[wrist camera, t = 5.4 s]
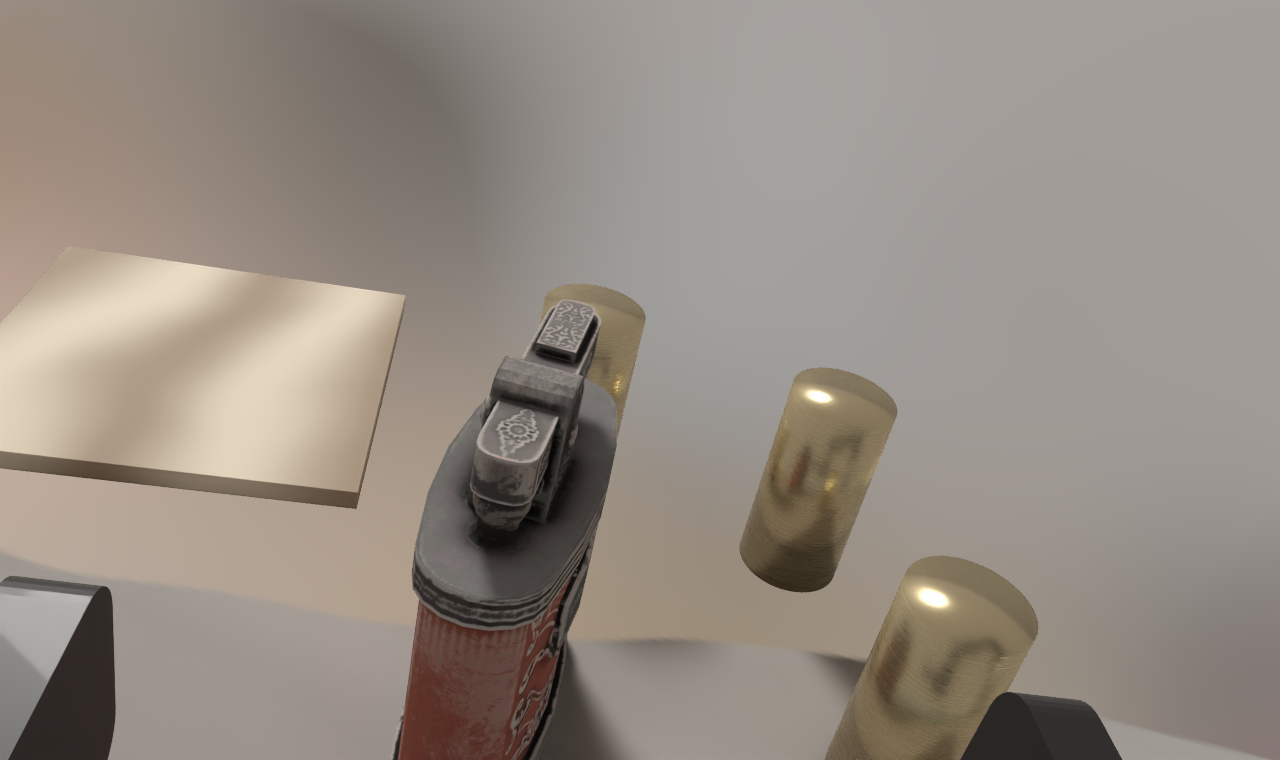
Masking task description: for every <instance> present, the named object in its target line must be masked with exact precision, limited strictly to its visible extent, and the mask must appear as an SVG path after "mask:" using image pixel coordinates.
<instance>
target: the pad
mask: <svg viewBox="0 0 1280 760" xmlns="http://www.w3.org/2000/svg"><path fill="white" fill-rule="evenodd" d="M404 306H405V295H399V294H392V293H385V292H377V291H371V290H364V289H358V288H351V287H343V286H337V285H330V284H324V283H317V282H310V281H303V280H296V279H290V278H283V277H276V276H269V275H262V274H255V273H249V272H242V271H234V270H228V269H221V268H214V267H207V266H201V265H194V264H187V263H181V262H174V261H167V260H159V259H153V258H146V257H139V256H133V255H126V254H119V253H112V252H105V251H99V250H92V249H85V248H77V247H71V246H68V247H67V248H66V249H65V250H64V252H63V253H62V254H61V255H60V256H59V257H58V258H57V260H56V261H55V262H54V263H53V264H52V265H51V266H50V268H49V269H48V270H47V271H46V272H45V273H44V274H43V276H42V277H41V278H40V279H39V281H37V283H36V284H35V285H34V286H33V287H32V288H31V290H30V291H29V292H28V293H27V294H26V295H25V296H24V297H23V299H22V300H21V301H20V302H19V303H18V304H17V306H16V307H15V308H14V309H13V310H12V311H11V312H10V314H9V315H8V316H7V317H6V318H5V320H3V322H2V323H1V324H0V468H4V469H12V470H21V471H30V472H39V473H47V474H56V475H65V476H74V477H82V478H91V479H100V480H109V481H117V482H127V483H135V484H143V485H153V486H161V487H170V488H179V489H187V490H197V491H205V492H214V493H222V494H231V495H241V496H249V497H258V498H266V499H275V500H284V501H293V502H302V503H310V504H319V505H328V506H337V507H345V508H355V509H356V508H357V504H358V499H359V495H360V491H361V487H362V482H363V479H364V474H365V470H366V466H367V462H368V458H369V454H370V449H371V445H372V441H373V437H374V433H375V429H376V424H377V420H378V416H379V412H380V408H381V404H382V399H383V395H384V391H385V387H386V382H387V379H388V374H389V370H390V366H391V362H392V358H393V353H394V349H395V345H396V341H397V337H398V333H399V329H400V324H401V320H402V316H403V312H404Z"/></svg>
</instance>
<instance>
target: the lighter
mask: <svg viewBox="0 0 1280 760" xmlns="http://www.w3.org/2000/svg"><path fill="white" fill-rule="evenodd" d="M600 326H601V318H600V317H599V315H597V314H596V313H595V309H594V307H592V306H591V305H588V304H585V303H581V302H578V301H573V300H568V299H564V300H561V301H560V302H559V303H558V304H557V305H555V306H552V307H551V308H550V309H549V310H548V312H547V314H546V315H545V317H544V319H543V321H542V322H541V324H540V326H539V328H538V330H537V332H536V333H535V335H534V337H533V339H532V340H531V342H530V344H529V346H528V348H527V349H526V351H525V353H524V355H523V356H522V358H521V359H518V358H514V357H510V356H506V357H505V358H504V359H503V361H502V363H501V365H500V367H499V368H498V371H497V373H496V376H495V378H494V382H493V385H492V389H491V393H490V395H489V396H488V397H487V398H486V399H485V400H484V402H483V403H482V404H481V405H480V406H479V407H478V408H477V409H476V410H475V412H474V413H473V414H472V416H471V417H470V418H469V420H468V421H467V422H466V424H465V425H464V426H463V428H462V429H461V430H460V432H459V433H458V434H457V436H456V437H455V438H454V440H453V441H452V442H451V444H450V445H449V447H448V449H447V451H446V454H445V456H444V458H443V460H442V462H441V464H440V467H439V469H438V471H437V473H436V476H435V478H434V480H433V482H432V484H431V487H430V489H429V491H428V495H427V499H426V503H425V507H424V511H423V515H422V519H421V523H420V528H419V532H418V536H417V540H416V544H415V545H416V546H415V552H414V560H413V568H412V584H413V590H414V591H415V593H416V594H417V596H418V597H419V605H418V613H417V620H416V627H415V635H414V642H413V650H412V657H411V665H410V672H409V680H408V687H407V694H406V702H405V705H404V707H403V710H402V713H401V715H400V718H399V721H398V724H397V729H396V734H395V738H394V743H393V747H392V752H391V757H390V760H538V759H539V757H540V754H541V752H542V749H543V747H544V745H545V742H546V740H547V737H548V735H549V732H550V728H551V724H552V719H553V715H554V711H555V707H556V702H557V698H558V693H559V689H560V684H561V679H562V675H563V670H564V666H565V661H566V649H567V633H568V631H569V628H570V626H571V624H572V621H573V619H574V617H575V615H576V613H577V610H578V608H579V605H580V600H581V596H582V592H583V588H584V583H585V579H586V575H587V571H588V566H589V562H590V558H591V553H592V549H593V544H594V540H595V535H596V530H597V526H598V522H599V519H600V517H601V514H602V509H603V505H604V501H605V497H606V493H607V488H608V484H609V479H610V474H611V470H612V465H613V460H614V456H615V451H616V446H617V406H616V404H615V401H614V398H613V397H612V396H611V395H610V394H609V393H608V392H607V391H606V390H605V389H604V388H603V387H601V386H599V385H598V384H596V383H594V382H593V381H591V380H589V379H586V376H587V374H588V372H589V369H590V367H591V365H592V363H593V359H594V354H595V349H596V344H597V340H598V335H599V330H600Z"/></svg>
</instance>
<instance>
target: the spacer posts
mask: <svg viewBox="0 0 1280 760" xmlns="http://www.w3.org/2000/svg"><path fill="white" fill-rule="evenodd" d="M564 299H568V300H573V301H578V302H581V303H585V304H588V305H591V306H592V307H594V309H595V313H596V314H597V315H599V317H600V318H601V326H600V330H599V335H598V340H597V344H596V349H595V354H594V359H593V363H592V365H591V367H590V369H589V372H588V374H587V376H586V379H589V380H591V381H593V382H594V383H596V384H598V385H599V386H601V387H603V388H604V389H605V390H606V391H607V392H608V393H609V394H610V395H611V396H612V397H613V398H614V401H615V404H616V406H617V437H618V433H619V428H620V425H621V420H622V416H623V412H624V408H625V403H626V399H627V394H628V391H629V387H630V382H631V378H632V374H633V370H634V366H635V361H636V357H637V353H638V349H639V344H640V340H641V335H642V332H643V328H644V323H645V313H644V311H643V309H642V308H641V307H640V306H639V305H638V304H637V303H636V302H635V301H634V300H632V299H631V298H629V297H627V296H626V295H624V294H622V293H620V292H617V291H614V290H612V289H608V288H605V287H601V286H596V285H588V284H569V285H563V286H560V287H557V288H554V289H553V290H551V291H550V292H549V293H548V294H547V295H546V297H545V301H544V306H543V311H542V317H541V322H542V321H543V319H544V317H545V315H546V314H547V312H548V310H549V309H550V308H551V307H552V306H555V305H557V304H558V303H559V302H560V301H561V300H564ZM540 324H541V323H540ZM896 416H897V407H896V404H895V402H894V401H893V399H892V398H891V397H890V396H889V395H888V393H887V392H885V391H884V390H883V389H882V388H880V387H879V386H878V385H876V384H874V383H873V382H871V381H869V380H867V379H865V378H863V377H861V376H858V375H856V374H853V373H850V372H847V371H842V370H838V369H832V368H812V369H807V370H805V371H802V372H800V373H799V374H798V375H797V376H796V377H795V378H794V381H793V384H792V387H791V390H790V393H789V396H788V399H787V402H786V405H785V408H784V411H783V414H782V417H781V420H780V423H779V426H778V429H777V432H776V435H775V438H774V441H773V444H772V448H771V451H770V454H769V457H768V460H767V463H766V466H765V469H764V472H763V475H762V478H761V481H760V484H759V487H758V490H757V493H756V496H755V499H754V502H753V505H752V508H751V512H750V515H749V518H748V521H747V524H746V527H745V530H744V533H743V536H742V539H741V542H740V554H741V557H742V559H743V561H744V563H745V564H746V566H747V567H748V568H749V569H750V570H751V571H752V572H753V573H754V574H755V575H756V576H757V577H759V578H760V579H762V580H763V581H765V582H767V583H769V584H770V585H773V586H775V587H778V588H781V589H784V590H788V591H793V592H812V591H816V590H819V589H822V588H824V587H825V586H827V585H828V584H829V583H830V582H831V580H832V578H833V576H834V573H835V571H836V568H837V566H838V563H839V561H840V558H841V555H842V553H843V550H844V548H845V545H846V543H847V540H848V538H849V535H850V533H851V530H852V527H853V525H854V523H855V520H856V517H857V515H858V512H859V510H860V507H861V505H862V502H863V500H864V497H865V495H866V492H867V489H868V487H869V485H870V482H871V480H872V477H873V474H874V472H875V469H876V467H877V464H878V462H879V459H880V457H881V454H882V452H883V449H884V446H885V444H886V442H887V439H888V436H889V434H890V431H891V429H892V426H893V424H894V421H895V419H896ZM1037 633H1038V621H1037V618H1036V615H1035V612H1034V610H1033V608H1032V606H1031V605H1030V603H1029V602H1028V600H1027V599H1026V598H1025V596H1024V595H1023V594H1022V593H1021V592H1020V591H1019V590H1018V589H1017V588H1015V586H1013V585H1012V584H1011V583H1010V582H1009V581H1007V580H1006V579H1004V578H1003V577H1001V576H1000V575H998V574H997V573H995V572H993V571H992V570H990V569H988V568H986V567H984V566H981V565H979V564H976V563H974V562H971V561H968V560H964V559H960V558H955V557H948V556H933V557H927V558H923V559H920V560H918V561H916V562H915V563H913V564H912V565H911V566H910V567H909V568H908V570H907V571H906V573H905V575H904V578H903V580H902V582H901V585H900V587H899V590H898V591H897V594H896V596H895V598H894V600H893V603H892V605H891V607H890V610H889V612H888V614H887V617H886V619H885V621H884V623H883V625H882V628H881V630H880V632H879V635H878V637H877V639H876V641H875V644H874V646H873V648H872V651H871V653H870V655H869V657H868V660H867V662H866V664H865V666H864V669H863V671H862V673H861V676H860V678H859V680H858V682H857V685H856V687H855V689H854V692H853V694H852V696H851V698H850V701H849V703H848V705H847V707H846V710H845V712H844V714H843V717H842V719H841V721H840V723H839V726H838V728H837V730H836V733H835V735H834V737H833V739H832V742H831V744H830V746H829V748H828V751H827V754H826V759H825V760H960V759H961V757H962V756H963V754H964V752H965V750H966V748H967V747H968V745H969V743H970V741H971V739H972V737H973V736H974V734H975V732H976V730H977V728H978V727H979V725H980V723H981V721H982V719H983V718H984V716H985V714H986V712H987V710H988V709H989V707H990V705H991V704H992V702H993V701H994V700H995V699H996V697H997V696H999V695H1000V694H1002V693H1006V692H1007V690H1008V688H1009V686H1010V685H1011V683H1012V681H1013V679H1014V677H1015V676H1016V674H1017V672H1018V670H1019V668H1020V666H1021V665H1022V663H1023V661H1024V659H1025V657H1026V655H1027V653H1028V652H1029V650H1030V648H1031V646H1032V644H1033V642H1034V641H1035V639H1036V636H1037Z"/></svg>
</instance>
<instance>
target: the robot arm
mask: <svg viewBox="0 0 1280 760" xmlns="http://www.w3.org/2000/svg"><path fill="white" fill-rule="evenodd" d="M115 707H116V706H115V672H114V638H113V605H112V596H111V592H110V590H109V589H108V588H107V587H105V586H97V585H88V584H79V583H70V582H62V581H53V580H44V579H35V578H27V577H18V576H9V577H7V578H6V579H4V580H3V581H2V582H1V583H0V760H108V756H109V752H110V747H111V743H112V737H113V732H114V724H115ZM960 760H1122V759H1121V757H1120V755H1119V753H1118V751H1117V749H1116V747H1115V746H1114V744H1113V742H1112V740H1111V738H1110V736H1109V735H1108V733H1107V731H1106V729H1105V727H1104V725H1103V723H1102V722H1101V720H1100V718H1099V716H1098V715H1097V713H1096V712H1095V711H1094V710H1093V709H1092V707H1091V706H1089V705H1088V704H1087V703H1085V702H1083V701H1081V700H1074V699H1065V698H1056V697H1047V696H1039V695H1030V694H1021V693H1012V692H1006V693H1002V694H1000V695H999V696H997V697H996V699H995V700H994V701H993V702H992V704H991V705H990V707H989V709H988V710H987V712H986V714H985V716H984V718H983V719H982V721H981V723H980V725H979V727H978V728H977V730H976V732H975V734H974V736H973V737H972V739H971V741H970V743H969V745H968V747H967V748H966V750H965V752H964V754H963V756H962V757H961V759H960Z"/></svg>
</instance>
